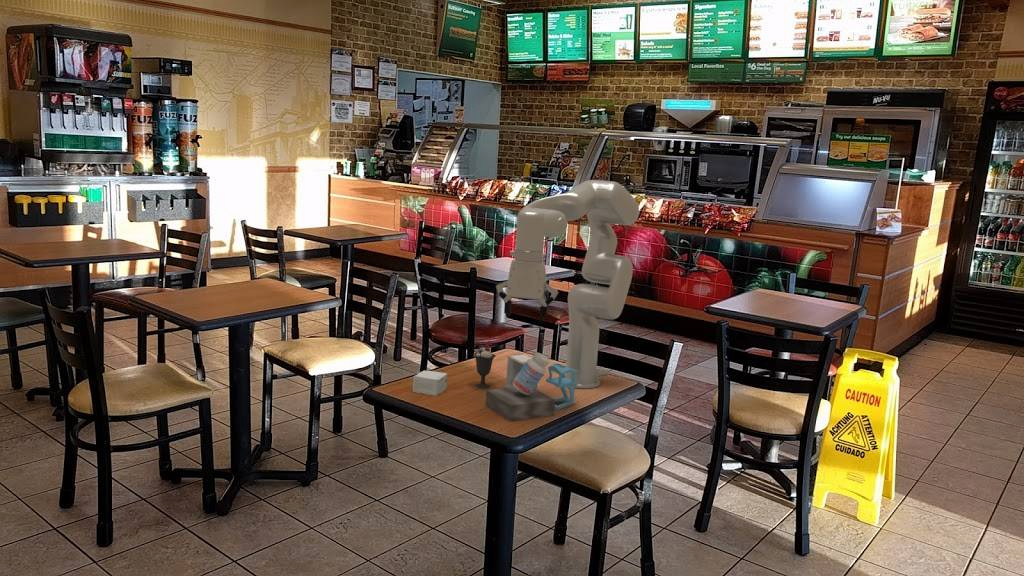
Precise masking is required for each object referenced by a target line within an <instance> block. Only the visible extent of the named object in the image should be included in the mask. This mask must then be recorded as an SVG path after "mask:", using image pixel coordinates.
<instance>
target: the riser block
mask: <svg viewBox="0 0 1024 576" xmlns="http://www.w3.org/2000/svg"><path fill="white" fill-rule="evenodd" d="M485 390H486V392H485V394H486V395H485V406H486V407H487V408H489V409H490V410H492V411H494V412H495V413H496V414H498V415H499V416H501V417H503V418H504V419H506V420H507V421H509V422H515V421H521V420H522V421H523V420H529V419H537V418H543V417H544V418H546V417H551V416H554V415H555V409H554V407H555V405H556V402H555V400H554V399H553V398H554V397H550V395H547V394H545V393H544V392H542V391H540V390H538V389H537V390H536V389H534V390H533V391H532V393H531V394H530V395H525V394H523V393H521V392H519V391H518V390H517V389H516V388H515V387H511V388H507V387H504V388H503V387H502V388H495V389H485Z"/></svg>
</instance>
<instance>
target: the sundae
mask: <svg viewBox="0 0 1024 576" xmlns="http://www.w3.org/2000/svg"><path fill="white" fill-rule="evenodd" d="M489 343H491V340H488V342H487V343H486V344H485V345H482V346H481V345H479V346H478V350H477V352H474V353H473V357H475V363H476V365H475V366H476V367H475V368H476V371H477V373H478V374H479V376H480V377H481V379H480V383H478V384H477V383H476V384H475V385H474V387H475V388H476V389H481V390H483V389H484V390H488V389H490V388H491V385H489V384H487V383H486V376H488V375H489V374H490V372H491V370H492V366H493V360H494V358H496V357H497V355H496V354H494V353H492V351H491V348H490V345H489Z"/></svg>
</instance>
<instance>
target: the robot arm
mask: <svg viewBox="0 0 1024 576" xmlns="http://www.w3.org/2000/svg"><path fill="white" fill-rule="evenodd" d="M639 214H640V208H639V204H638V202H637V200H636V199H635V198H634V196H633V195H632V194H631V193H630V192H629V191H628V190H627V188H625V187H624V186H623V185H622V184H620V183H619V182H617V181H613V180H611V181H609V180H597V179H589V180H585V181H582V182H581V183H580V184H578V185H576V186H574V187H573V188H572V189H570V190H568V191H566V192H564V193H560V194H555V195H552V196H547V197H543V198H539V199H536V200H534V201H532V202H530V203H528V204H526V205H525V206H524V207H523V208H522V209H520V210H519V212H518V213H517V217H516V235H515V249H513V250H510V251H509V255H510V256H513V258H514V259H512V260H511V262H510V267H509V271H508V277H507V280H506V281H503V282H501V283H498V284H497V285H495V288H496V291H497V292H498V295H499V297H500V298H501V299H502V301H503V302H504V309H503V310H504V312H503V313H504V314H505V318H509V317H511V315H512V309H513V308H512V306H513V305H512V304H513V301H512V299H513V298H514V299H515V298H516V299H525V300H536V301H537V300H538V301H539V302H540V304H541V306H540V310H539V321H540V322H544V320H545V319H546V318H547V317H548V306H549V305H550V304H551V303H552V302H553V301H554V300H555V299H556V298H557V296H558V294H559V291H558V290H557V289H555V288H554V287H553V286H551V285H550V284H548V283H547V271H546V270H547V269H546V264H545V263H546V262H545V261H543V257H544V256H543V255H544V243H545V242H544V241H545V237H547V238H558V237H561V236H563V234H564V233H565V232H566V230H567V228H568V222H570V221H571V222H572V221H576V220H580V219H581V218H582V217H584V216H585V215H586V218H587V221H588V223H589V228H590V240H589V244H588V247H587V251H586V253H585V257H584V260H583V264H582V268H581V275H582V277H583V279H585V280H586V281H588V282H590V283H591V282H592V283H597V284H602V285H609V287H605V286H602V285H601V286H600V285H594V284H588V283H578V284H575V285H573V286H572V287H571V288H570V290H569V292H568V295H567V307H568V315H569V316H568V320H569V321H568V322H569V323H568V335H567V337H568V338H567V339H568V340H567V349H566V350H567V351H566V363H565V364H566V365H565V366H566V367H568V368H571V369H573V370H577V372H576V374H575V377H574V380H575V381H576V382H577V385H576V386H575V388H576V389H592V388H593V389H594V388H597V387H599V386H600V385H601V380H600V379H599V378H601V377H607V376H609V370H608V369H603V370H601V369H600V368H597V365H598V350H599V339H600V327H599V324H598V322H597V319H596V318H598V319H599V318H600V319H603V320H615V319H618V318H619V317H620V316H621V314H622V312H623V309H624V306H625V303H626V299H627V296H628V292H629V290H630V286H631V282H632V278H633V272H634V271H633V270H634V268H633V263H632V261H631V259H630V258H628V257H627V256H625V255H621V254H620V255H619V254H615V253H616V250H617V246H618V238H617V234H616V233H615V231H614V229H613V227H612V225H621V226H631V225H634V224H635V222H637V221H638V220H637V219H638V218H639V216H640V215H639ZM505 287H507V288H506V292H505V291H504V288H505ZM547 292H549V293H551V295H550V296H549V298H547V297H546V293H547ZM572 375H573V373H572V372H567V373H565V377H566V378H568V379H570V380H572ZM575 388H574V389H575Z"/></svg>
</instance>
